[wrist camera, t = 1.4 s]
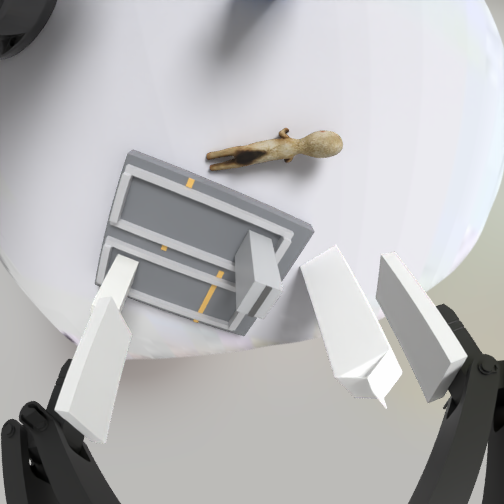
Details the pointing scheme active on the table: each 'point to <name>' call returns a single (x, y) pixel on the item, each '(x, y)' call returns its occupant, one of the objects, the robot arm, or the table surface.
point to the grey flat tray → (190, 240)
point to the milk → (349, 328)
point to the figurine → (279, 149)
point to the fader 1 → (117, 281)
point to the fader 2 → (256, 276)
